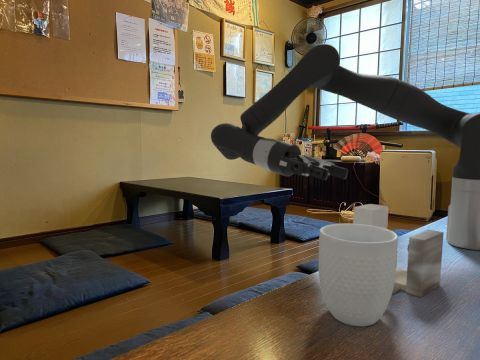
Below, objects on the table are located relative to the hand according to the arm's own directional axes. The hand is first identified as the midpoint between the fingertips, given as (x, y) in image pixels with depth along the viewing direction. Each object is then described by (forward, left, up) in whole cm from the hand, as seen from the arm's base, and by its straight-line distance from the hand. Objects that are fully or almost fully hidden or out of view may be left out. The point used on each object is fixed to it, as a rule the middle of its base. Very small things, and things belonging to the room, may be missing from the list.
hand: (337, 174), depth 71 cm
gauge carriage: (+4, +5, -18) cm, 19 cm away
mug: (+21, -2, -20) cm, 29 cm away
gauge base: (+8, +8, -19) cm, 22 cm away
